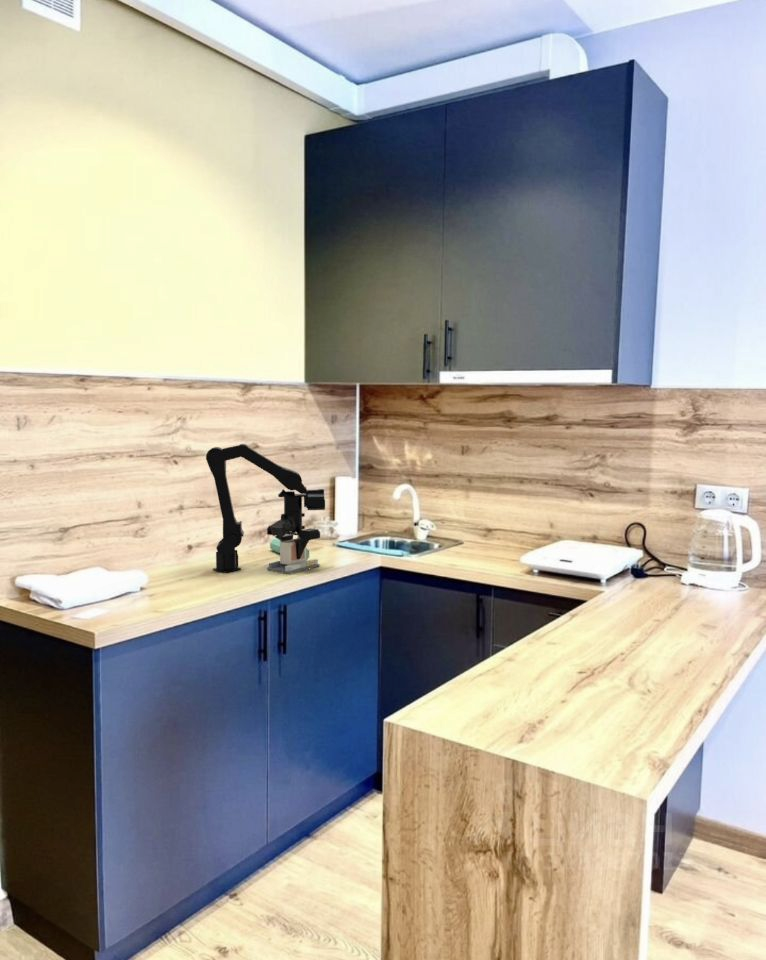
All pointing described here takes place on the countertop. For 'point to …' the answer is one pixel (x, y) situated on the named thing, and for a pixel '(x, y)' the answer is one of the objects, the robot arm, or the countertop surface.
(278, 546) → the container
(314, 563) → the shallow grey tray
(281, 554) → the product box
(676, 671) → the countertop surface
